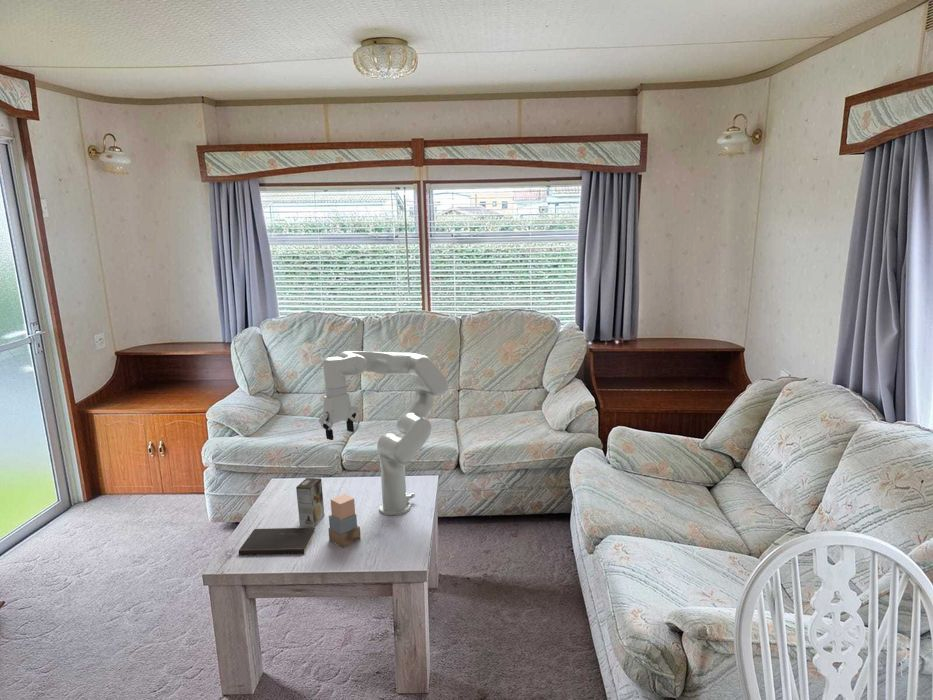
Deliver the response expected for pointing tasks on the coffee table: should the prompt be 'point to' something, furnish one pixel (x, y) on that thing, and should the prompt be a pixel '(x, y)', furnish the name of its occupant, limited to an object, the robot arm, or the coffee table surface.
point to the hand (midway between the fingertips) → (340, 435)
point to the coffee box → (310, 501)
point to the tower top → (342, 523)
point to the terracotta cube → (342, 506)
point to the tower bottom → (344, 537)
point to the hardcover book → (277, 541)
